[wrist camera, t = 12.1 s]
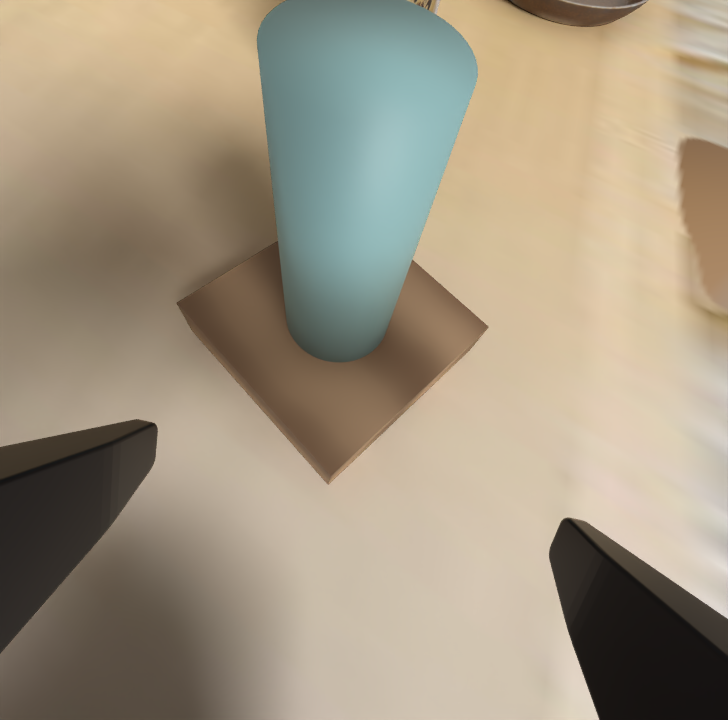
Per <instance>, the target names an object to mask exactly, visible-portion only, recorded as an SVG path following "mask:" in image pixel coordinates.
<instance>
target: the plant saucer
mask: <svg viewBox="0 0 728 720" xmlns="http://www.w3.org/2000/svg"><path fill="white" fill-rule="evenodd" d="M510 1H511V2H512V3H514V4H515V5H517V6H518V7H520V8H522V9H524V10H526V11H528V12H530V13H532V14H534V15H536V16H539V17H541V18H544V19H547V20H550V21H553V22H557V23H561V24H566V25H573V26H598V25H603V24H607V23H610V22H613V21H615V20H617V19H620V18H622V17H624V16H626V15H628V14H629V13H631V12H633V11H634V10H636V9H637V8H639V7H640V6H642V5H643V4H644V3H646V2H647V1H648V0H510Z"/></svg>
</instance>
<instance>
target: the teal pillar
mask: <svg viewBox="0 0 728 720" xmlns="http://www.w3.org/2000/svg"><path fill="white" fill-rule="evenodd" d="M257 48H258V57H259V67H260V76H261V85H262V95H263V104H264V114H265V123H266V132H267V142H268V151H269V161H270V170H271V179H272V189H273V198H274V208H275V217H276V226H277V236H278V245H279V255H280V264H281V273H282V283H283V292H284V301H285V311H286V320H287V326H288V329H289V332H290V334H291V336H292V338H293V339H294V341H295V342H296V343H297V345H298V346H300V347H301V348H302V349H303V350H304V351H305V352H307V353H308V354H310V355H312V356H313V357H316V358H318V359H321V360H324V361H329V362H349V361H354V360H357V359H360V358H362V357H364V356H366V355H368V354H369V353H371V352H372V351H373V350H374V349H376V348H377V346H378V345H379V344H380V343H381V341H382V340H383V338H384V336H385V333H386V331H387V328H388V325H389V322H390V320H391V317H392V314H393V311H394V308H395V306H396V303H397V300H398V297H399V295H400V292H401V289H402V286H403V284H404V281H405V278H406V275H407V273H408V270H409V267H410V264H411V262H412V259H413V256H414V253H415V251H416V248H417V245H418V242H419V239H420V237H421V234H422V231H423V228H424V226H425V223H426V220H427V217H428V215H429V212H430V209H431V206H432V204H433V201H434V198H435V195H436V193H437V190H438V187H439V184H440V182H441V179H442V176H443V173H444V170H445V168H446V165H447V162H448V159H449V157H450V154H451V151H452V148H453V146H454V143H455V140H456V137H457V135H458V132H459V129H460V126H461V124H462V121H463V118H464V115H465V113H466V110H467V107H468V104H469V101H470V99H471V96H472V93H473V90H474V88H475V85H476V81H477V76H478V67H477V63H476V59H475V56H474V54H473V51H472V49H471V48H470V46H469V45H468V43H467V42H466V40H465V39H464V38H463V37H462V35H461V34H460V33H459V32H458V31H457V30H456V29H455V28H454V27H452V26H451V25H450V24H449V23H447V22H446V21H445V20H443V19H442V18H440V17H439V16H437V15H436V14H434V13H432V12H431V11H429V10H427V9H425V8H423V7H421V6H419V5H416V4H414V3H412V2H409V1H406V0H286V1H284V2H282V3H281V4H279V5H278V6H276V7H275V8H274V9H273V10H272V11H270V12H269V13H268V14H267V16H266V17H265V18H264V20H263V21H262V23H261V25H260V28H259V30H258V36H257Z"/></svg>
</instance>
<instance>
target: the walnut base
mask: <svg viewBox="0 0 728 720" xmlns="http://www.w3.org/2000/svg"><path fill="white" fill-rule="evenodd" d="M177 305H178V306H179V308H180V310H181V312H182V314H183V315H184V317H185V319H186V321H187V323H188V324H189V326H190V328H191V330H192V331H193V332H194V333H195V335H196V336H197V337H198V338H199V339H200V340H201V341H202V342H203V344H204V345H205V346H206V347H207V348H208V349H209V350H210V352H211V353H212V354H213V355H214V356H215V357H216V358H217V359H218V361H219V362H220V363H221V364H222V365H223V366H224V367H225V368H226V370H227V371H228V372H229V373H230V374H231V375H232V376H233V378H234V379H235V380H236V381H237V382H238V383H239V384H240V385H241V387H242V388H243V389H244V390H245V391H246V392H247V393H248V395H249V396H250V397H251V398H252V399H253V400H254V401H255V402H256V404H257V405H258V406H259V407H260V408H261V409H262V410H263V412H264V413H265V414H266V415H267V416H268V417H269V418H270V419H271V421H272V422H273V423H274V424H275V425H276V426H277V427H278V428H279V430H280V431H281V432H282V433H283V434H284V435H285V436H286V438H287V439H288V440H289V441H290V442H291V443H292V444H293V445H294V447H295V448H296V449H297V450H298V451H299V452H300V453H301V455H302V456H303V457H304V458H305V459H306V460H307V461H308V462H309V464H310V465H311V466H312V467H313V468H314V469H315V470H316V472H317V473H318V474H319V475H320V476H321V477H322V478H323V479H324V481H325V482H326V483H327V484H328V485H329V484H330V483H331V482H332V481H333V480H334V479H335V478H336V477H337V476H338V475H339V474H340V473H341V472H342V471H343V470H344V469H345V468H346V467H347V466H348V465H350V464H351V463H352V462H353V461H354V460H355V459H356V458H357V457H358V456H359V455H360V454H361V453H362V452H363V451H364V450H365V449H366V448H367V447H368V446H369V445H371V444H372V443H373V442H374V441H375V440H376V439H377V438H378V437H379V436H380V435H381V434H382V433H383V432H384V431H385V430H386V429H387V428H388V427H389V426H391V425H392V424H393V423H394V422H395V421H396V420H397V419H398V418H399V417H400V416H401V415H402V414H403V413H404V412H405V411H406V410H407V409H408V408H409V407H410V406H412V405H413V404H414V403H415V402H416V401H417V400H418V399H419V398H420V397H421V396H422V395H423V394H424V393H425V392H426V391H427V390H428V389H429V388H430V387H431V386H433V385H434V384H435V383H436V382H437V381H438V380H439V379H440V378H441V377H442V376H443V375H444V374H445V373H446V372H447V371H448V370H449V369H450V368H451V367H452V366H454V365H455V364H456V363H457V362H458V361H459V360H460V359H461V358H462V357H463V356H464V355H465V354H466V353H467V352H468V351H469V350H470V349H471V348H472V347H473V346H474V344H475V343H476V342H477V341H478V339H479V338H480V337H481V336H482V335H483V333H484V332H485V331H486V330H487V329H488V326H487V325H486V324H485V323H484V322H483V321H481V320H480V319H479V318H478V317H477V316H476V315H475V314H473V313H472V312H471V311H470V310H469V309H468V308H467V307H466V306H464V305H463V304H462V303H461V302H460V301H459V300H458V299H456V298H455V297H454V296H453V295H452V294H451V293H450V292H449V291H447V290H446V289H445V288H444V287H443V286H442V285H441V284H439V283H438V282H437V281H436V280H435V279H434V278H433V277H431V276H430V275H429V274H428V273H427V272H426V271H425V270H424V269H422V268H421V267H420V266H419V265H418V264H417V263H416V262H414V261H413V260H412V262H411V264H410V267H409V270H408V273H407V275H406V278H405V281H404V284H403V286H402V289H401V292H400V295H399V297H398V300H397V303H396V306H395V308H394V311H393V314H392V317H391V320H390V322H389V325H388V328H387V331H386V333H385V336H384V338H383V340H382V341H381V343H380V344H379V345H378V346H377V348H376V349H374V350H373V351H372V352H371V353H369V354H368V355H366V356H364V357H362V358H360V359H357V360H354V361H349V362H329V361H324V360H321V359H318V358H316V357H313V356H312V355H310V354H308V353H307V352H305V351H304V350H303V349H302V348H301V347H300V346H298V345H297V343H296V342H295V341H294V339H293V338H292V336H291V334H290V332H289V329H288V326H287V320H286V311H285V301H284V292H283V283H282V273H281V264H280V255H279V245H278V241H277V242H275V243H274V244H272V245H270V246H269V247H267V248H265V249H264V250H262V251H261V252H259V253H257V254H256V255H254V256H252V257H251V258H249V259H247V260H246V261H244V262H243V263H241V264H239V265H238V266H236V267H234V268H233V269H231V270H229V271H228V272H226V273H225V274H223V275H221V276H220V277H218V278H216V279H215V280H213V281H212V282H210V283H208V284H207V285H205V286H203V287H202V288H200V289H198V290H197V291H195V292H194V293H192V294H190V295H189V296H187V297H185V298H184V299H182V300H180V301H179V302H177Z"/></svg>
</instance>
